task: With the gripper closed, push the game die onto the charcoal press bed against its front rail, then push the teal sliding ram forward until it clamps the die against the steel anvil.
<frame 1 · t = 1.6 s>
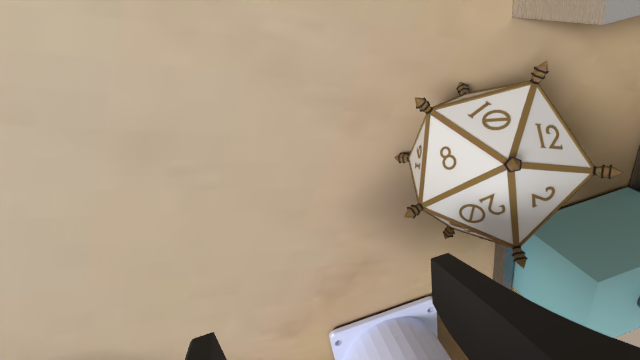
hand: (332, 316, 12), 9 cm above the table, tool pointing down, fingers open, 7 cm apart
game die: (440, 134, 21), on the table
press frame: (591, 93, 23), on the table
ram: (613, 269, 25), point 4 cm above the table, slide at 0.0 cm
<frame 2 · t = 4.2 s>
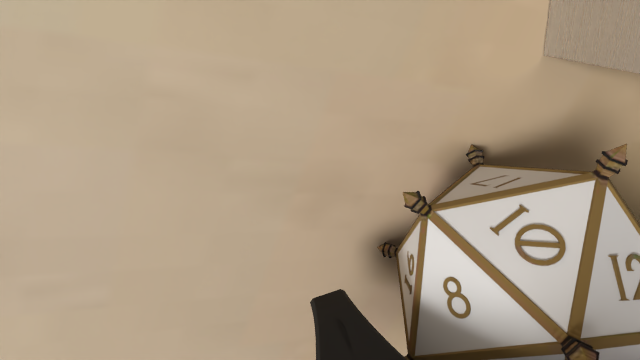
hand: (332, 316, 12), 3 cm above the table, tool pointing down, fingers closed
game die: (442, 212, 15), on the table, touching gripper
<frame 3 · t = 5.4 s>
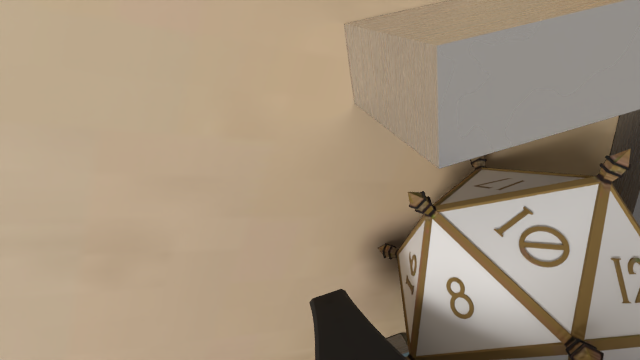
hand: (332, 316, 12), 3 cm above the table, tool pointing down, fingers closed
game die: (443, 215, 15), on the table, touching gripper
press frame: (507, 196, 15), on the table
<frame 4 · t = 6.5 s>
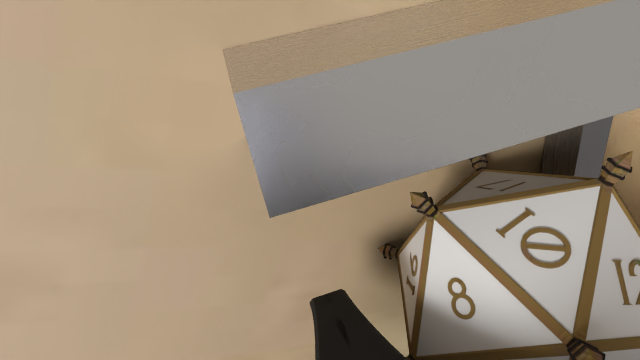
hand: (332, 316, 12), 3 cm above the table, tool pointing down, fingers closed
game die: (443, 216, 15), on the table, touching gripper
press frame: (430, 219, 15), on the table
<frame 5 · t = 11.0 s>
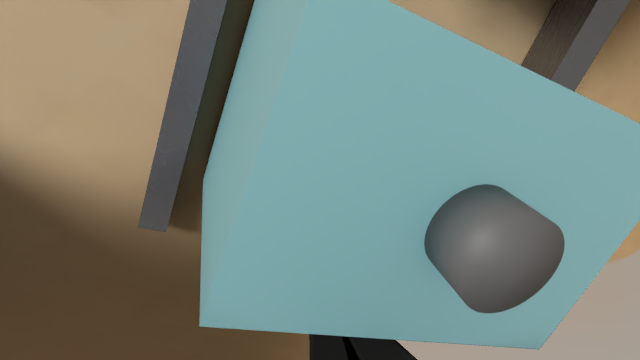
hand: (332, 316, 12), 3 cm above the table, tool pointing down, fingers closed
ram: (412, 177, 9), point 4 cm above the table, slide at 0.7 cm, touching gripper
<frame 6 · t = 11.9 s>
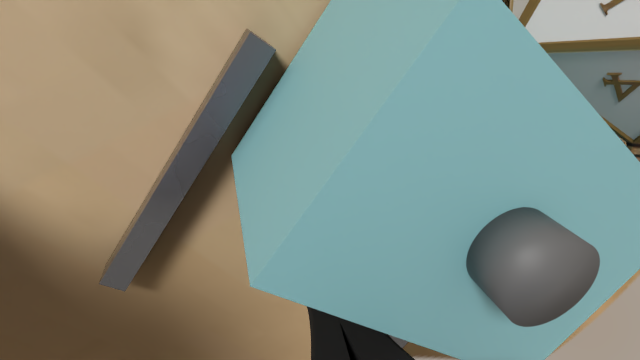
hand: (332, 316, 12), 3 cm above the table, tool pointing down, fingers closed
ram: (445, 194, 10), point 4 cm above the table, slide at 4.5 cm, touching game die, gripper
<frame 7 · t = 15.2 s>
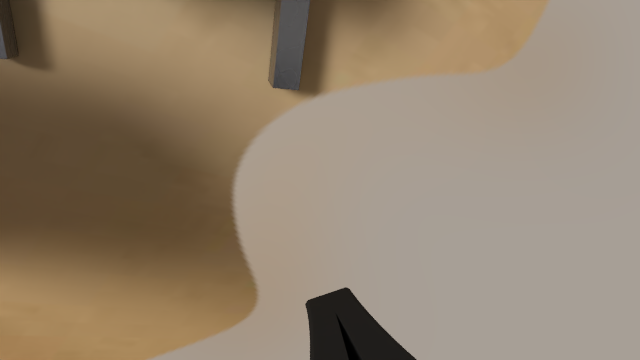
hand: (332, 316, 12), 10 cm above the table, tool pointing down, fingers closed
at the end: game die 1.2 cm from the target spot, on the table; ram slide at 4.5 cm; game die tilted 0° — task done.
